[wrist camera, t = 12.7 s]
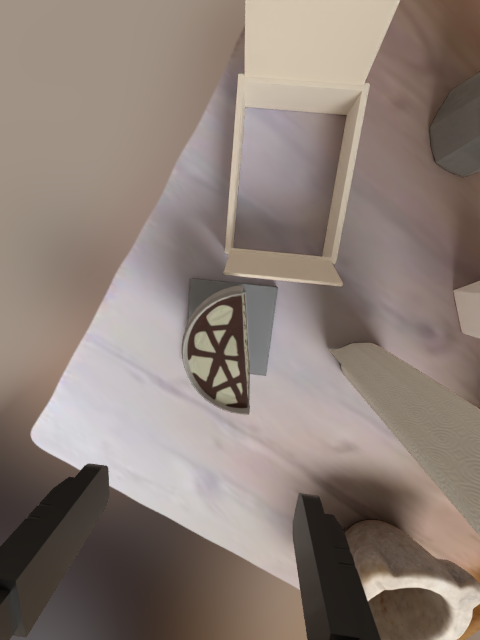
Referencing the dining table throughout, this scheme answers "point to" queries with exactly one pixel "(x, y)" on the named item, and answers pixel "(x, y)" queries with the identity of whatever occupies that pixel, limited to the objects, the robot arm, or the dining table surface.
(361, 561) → the mortar
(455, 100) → the coffeepot
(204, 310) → the food container
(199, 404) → the dining table surface
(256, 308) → the trivet
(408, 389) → the paper towel roll
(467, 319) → the milk
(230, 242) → the carton
